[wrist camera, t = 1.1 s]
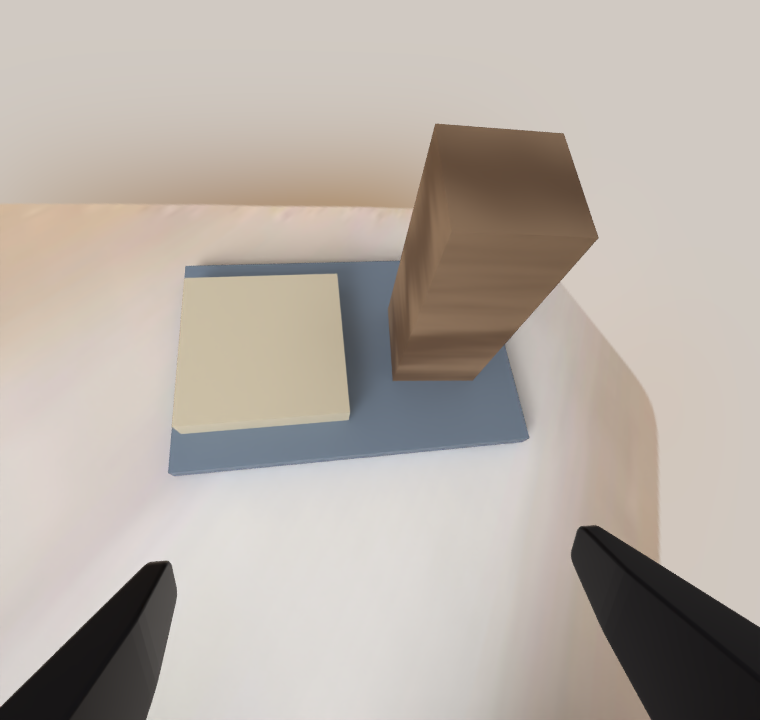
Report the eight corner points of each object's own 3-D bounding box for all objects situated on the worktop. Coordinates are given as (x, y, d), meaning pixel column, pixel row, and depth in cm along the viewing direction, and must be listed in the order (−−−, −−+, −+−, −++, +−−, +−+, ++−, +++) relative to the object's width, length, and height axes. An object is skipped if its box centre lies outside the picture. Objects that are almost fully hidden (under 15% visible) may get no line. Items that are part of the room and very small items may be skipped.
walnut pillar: (472, 380, 25) (598, 237, 14) (392, 380, 25) (451, 231, 13) (462, 310, 27) (563, 133, 16) (387, 309, 27) (435, 123, 15)
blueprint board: (477, 267, 30) (489, 244, 28) (522, 441, 25) (541, 431, 23) (190, 275, 27) (177, 250, 25) (174, 475, 22) (157, 468, 20)
